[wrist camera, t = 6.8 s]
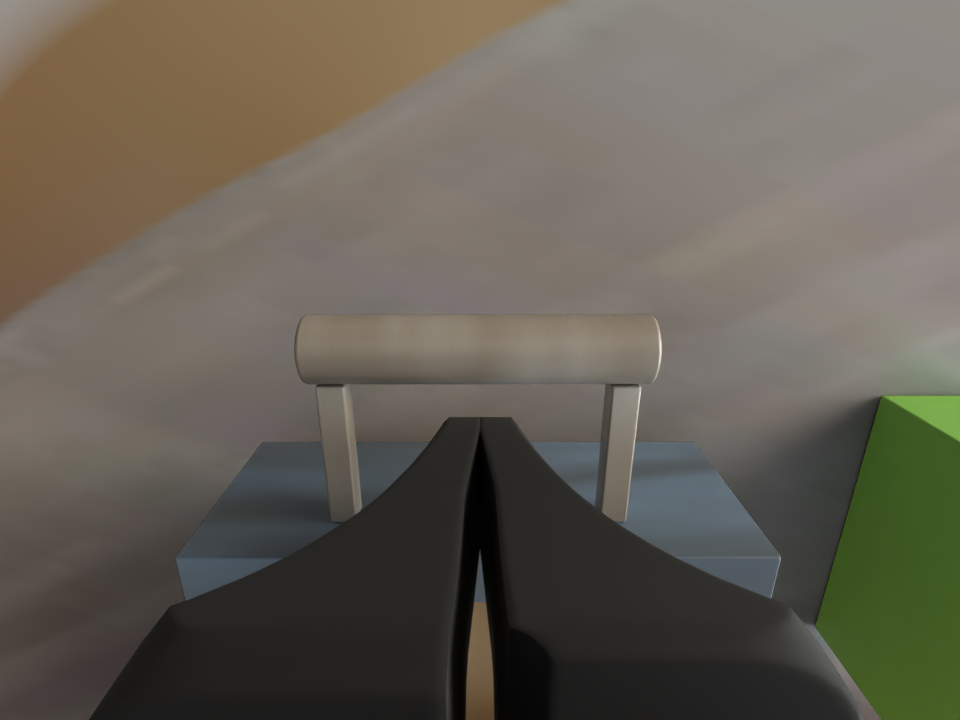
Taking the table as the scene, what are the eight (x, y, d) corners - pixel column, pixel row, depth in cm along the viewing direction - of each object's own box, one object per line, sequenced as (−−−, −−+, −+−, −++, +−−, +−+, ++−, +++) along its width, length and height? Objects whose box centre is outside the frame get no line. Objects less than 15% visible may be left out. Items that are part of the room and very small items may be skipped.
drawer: (235, 279, 14) (118, 338, 9) (720, 279, 14) (835, 338, 9) (324, 826, 22) (283, 1002, 17) (633, 825, 22) (673, 1000, 17)
